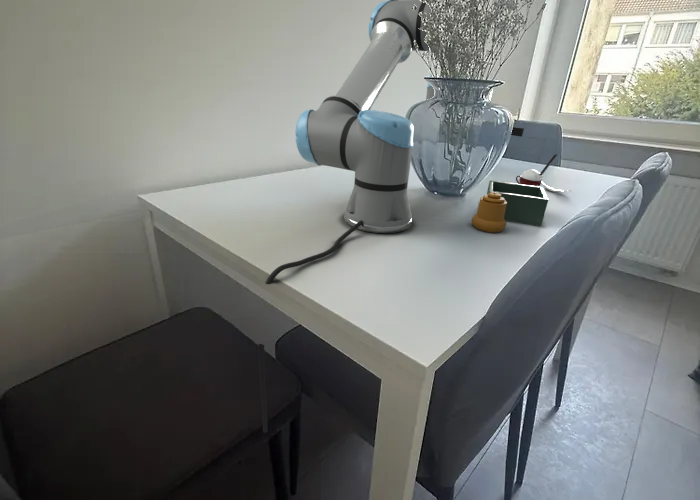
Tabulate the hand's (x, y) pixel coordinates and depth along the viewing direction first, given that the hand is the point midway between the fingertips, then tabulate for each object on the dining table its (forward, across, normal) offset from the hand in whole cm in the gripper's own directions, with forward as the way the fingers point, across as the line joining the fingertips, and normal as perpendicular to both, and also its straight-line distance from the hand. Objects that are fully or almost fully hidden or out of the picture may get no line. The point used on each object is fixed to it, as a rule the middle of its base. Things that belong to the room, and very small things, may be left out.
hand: (512, 133), depth 122 cm
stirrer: (+11, -8, -16) cm, 21 cm away
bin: (+19, +28, -16) cm, 38 cm away
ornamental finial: (+20, +42, -16) cm, 50 cm away
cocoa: (+10, 0, -16) cm, 19 cm away
